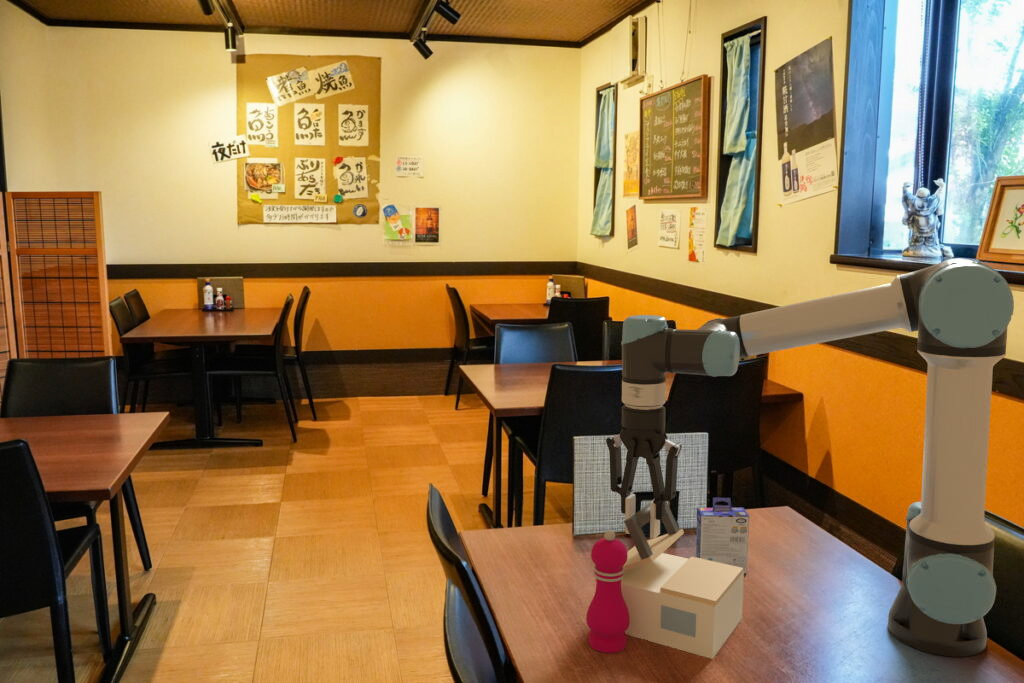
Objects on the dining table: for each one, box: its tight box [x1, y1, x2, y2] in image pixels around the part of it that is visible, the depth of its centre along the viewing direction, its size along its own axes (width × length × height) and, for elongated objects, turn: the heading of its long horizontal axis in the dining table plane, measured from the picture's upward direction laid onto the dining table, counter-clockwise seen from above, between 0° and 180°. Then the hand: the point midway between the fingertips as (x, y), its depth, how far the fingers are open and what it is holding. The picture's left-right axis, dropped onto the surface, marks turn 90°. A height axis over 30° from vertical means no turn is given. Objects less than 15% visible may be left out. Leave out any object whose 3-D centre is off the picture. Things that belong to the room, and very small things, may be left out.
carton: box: [621, 552, 745, 660], centre depth 149 cm, size 20×16×10 cm
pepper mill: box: [585, 529, 630, 654], centre depth 141 cm, size 7×7×20 cm
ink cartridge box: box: [695, 497, 750, 575], centre depth 171 cm, size 10×6×14 cm, turn 89°
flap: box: [623, 498, 685, 571], centre depth 151 cm, size 10×15×8 cm, turn 147°
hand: (642, 533), depth 150 cm, fingers open, 4 cm apart
